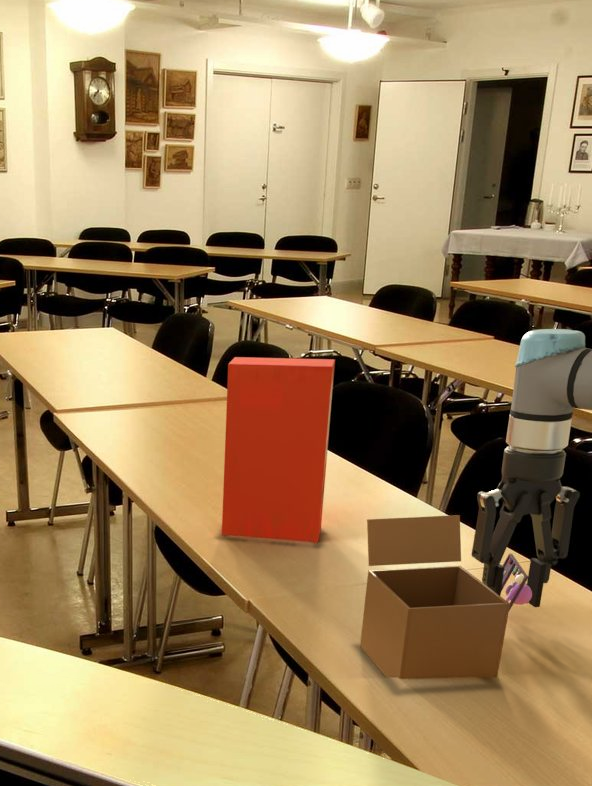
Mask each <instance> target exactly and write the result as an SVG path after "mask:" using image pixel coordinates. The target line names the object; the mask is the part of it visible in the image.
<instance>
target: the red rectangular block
mask: <svg viewBox="0 0 592 786" xmlns="http://www.w3.org/2000/svg"><path fill="white" fill-rule="evenodd" d="M335 365H336V359H333V358H331V359H330V358H329V359H328V358H291V357H289V358H285V357H249V356H248V357H247V356H246V357H245V356H234V357H233V358H232V359H231V361H229V363H228V365H227V384H226V385H227V386H226V387H227V390H226V410H225V411H226V412H225V413H226V415H225V436H224V437H225V438H224V440H225V441H224V463H223V464H224V465H223V489H222V491H223V494H222V515H221V517H222V518H221V535H222V536H234V537H245V538H255V539H256V538H257V539H269V540H279V541H280V540H282V541H293V542H305V543H316V544H318V543H319V539H320V534H321V529H322V522H323V521H322V520H323V508H324V499H325V498H324V496H325V486H326V485H325V483H326V474H327V473H326V472H327V460H328V449H329V437H330V424H331V412H332V400H333V389H334V379H335V378H334V377H335V367H336V366H335Z"/></svg>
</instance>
